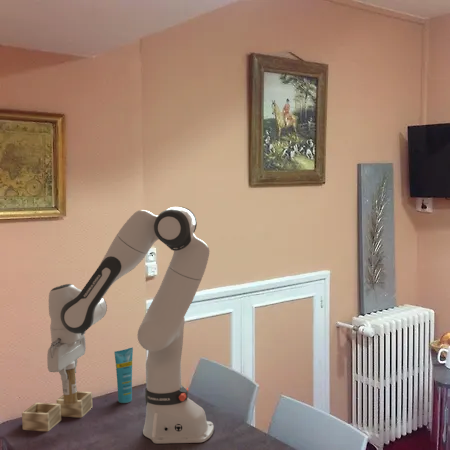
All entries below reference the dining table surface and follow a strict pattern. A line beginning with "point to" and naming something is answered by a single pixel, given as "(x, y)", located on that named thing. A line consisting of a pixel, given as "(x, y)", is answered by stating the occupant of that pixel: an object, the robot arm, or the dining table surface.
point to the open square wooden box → (41, 416)
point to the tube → (124, 374)
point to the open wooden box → (76, 405)
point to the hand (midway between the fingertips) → (68, 376)
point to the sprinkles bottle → (70, 385)
